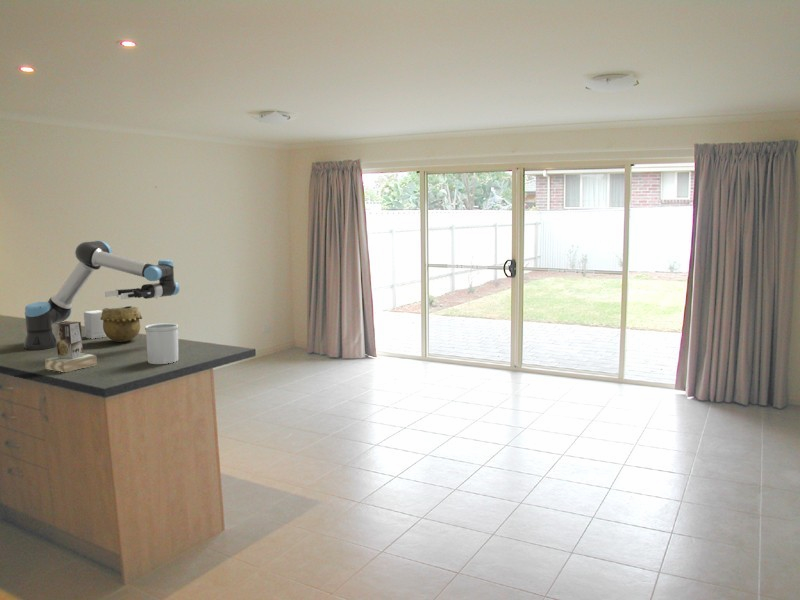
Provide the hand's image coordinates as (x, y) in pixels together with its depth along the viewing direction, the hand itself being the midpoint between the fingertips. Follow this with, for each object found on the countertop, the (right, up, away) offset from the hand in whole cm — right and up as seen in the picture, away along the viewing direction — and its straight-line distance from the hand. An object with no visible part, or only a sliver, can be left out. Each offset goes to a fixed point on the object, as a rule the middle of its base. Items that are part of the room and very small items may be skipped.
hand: (113, 295), depth 304 cm
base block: (-9, -34, -22) cm, 41 cm away
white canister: (-31, -24, +46) cm, 61 cm away
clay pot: (-11, -26, +35) cm, 44 cm away
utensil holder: (+29, -32, -10) cm, 44 cm away
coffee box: (-9, -29, -23) cm, 38 cm away
